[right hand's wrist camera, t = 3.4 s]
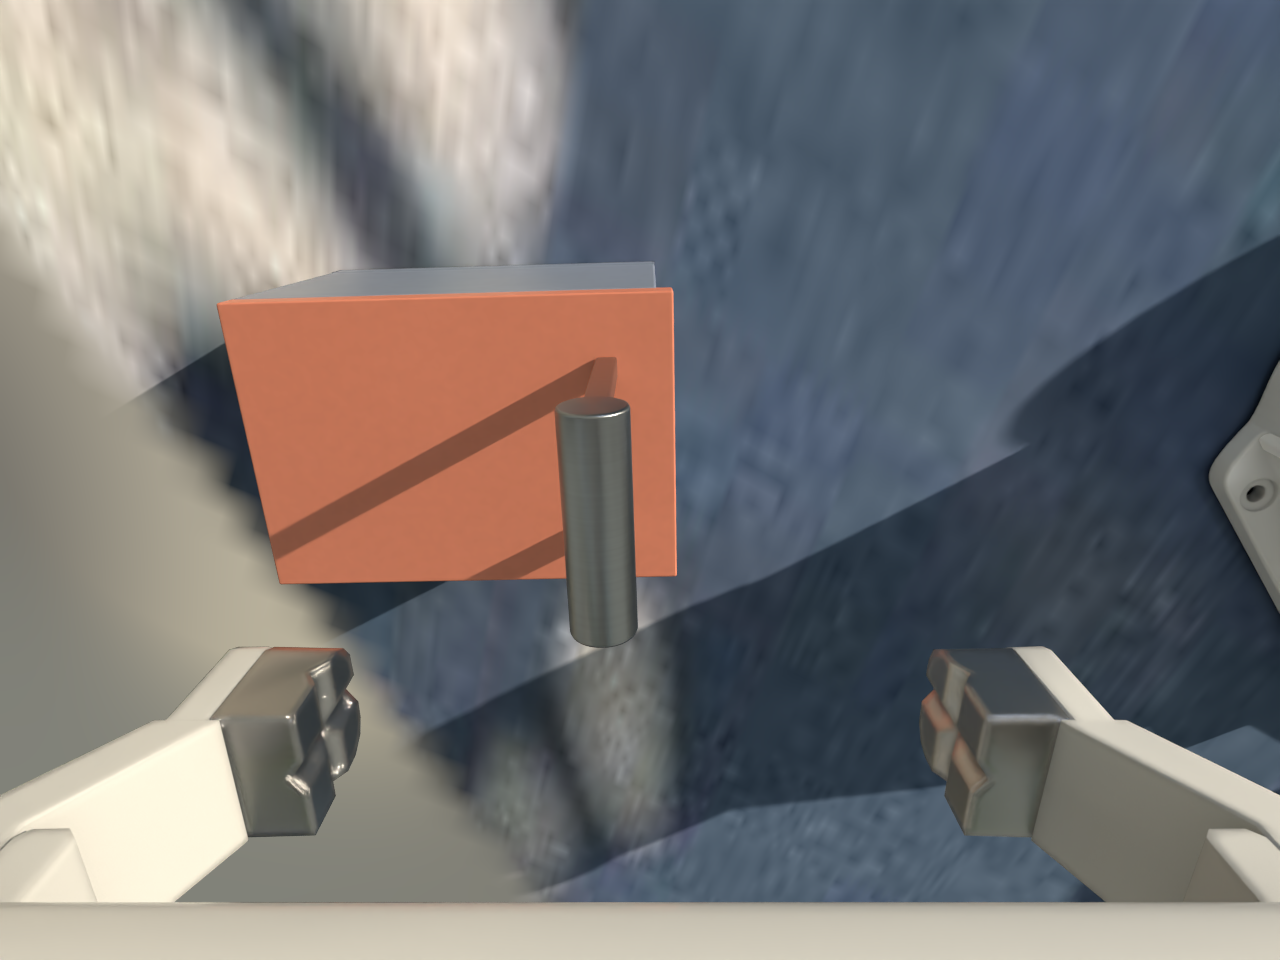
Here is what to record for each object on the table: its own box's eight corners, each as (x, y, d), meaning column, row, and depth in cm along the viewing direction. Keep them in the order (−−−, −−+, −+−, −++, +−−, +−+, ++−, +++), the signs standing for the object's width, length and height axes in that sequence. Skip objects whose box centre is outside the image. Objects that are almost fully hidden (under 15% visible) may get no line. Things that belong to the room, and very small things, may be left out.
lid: (672, 287, 25) (683, 332, 17) (675, 564, 28) (686, 706, 21) (230, 299, 25) (41, 349, 17) (290, 573, 29) (156, 716, 21)
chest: (654, 261, 34) (656, 287, 25) (658, 475, 37) (662, 565, 28) (340, 270, 34) (230, 298, 25) (375, 482, 37) (290, 572, 29)
